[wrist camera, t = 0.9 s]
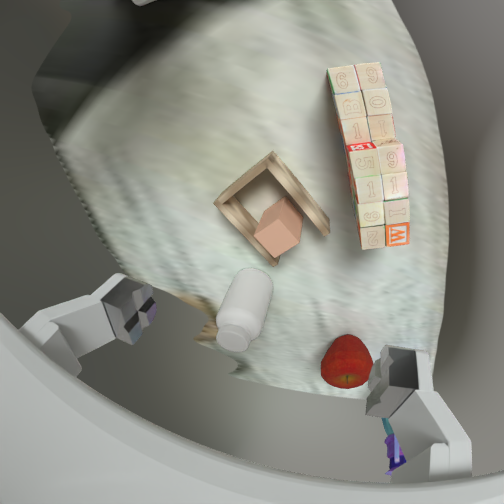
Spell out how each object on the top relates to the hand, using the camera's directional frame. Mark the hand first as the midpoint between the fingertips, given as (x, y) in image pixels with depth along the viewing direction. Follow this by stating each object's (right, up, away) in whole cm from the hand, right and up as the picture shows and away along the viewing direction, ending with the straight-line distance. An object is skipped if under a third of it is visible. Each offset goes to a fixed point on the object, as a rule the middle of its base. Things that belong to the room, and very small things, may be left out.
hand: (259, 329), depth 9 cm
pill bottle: (0, -3, +46) cm, 46 cm away
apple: (+21, -17, +49) cm, 56 cm away
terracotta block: (+5, +9, +36) cm, 37 cm away
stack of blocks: (+16, +19, +27) cm, 36 cm away
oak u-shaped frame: (+4, +10, +36) cm, 37 cm away
